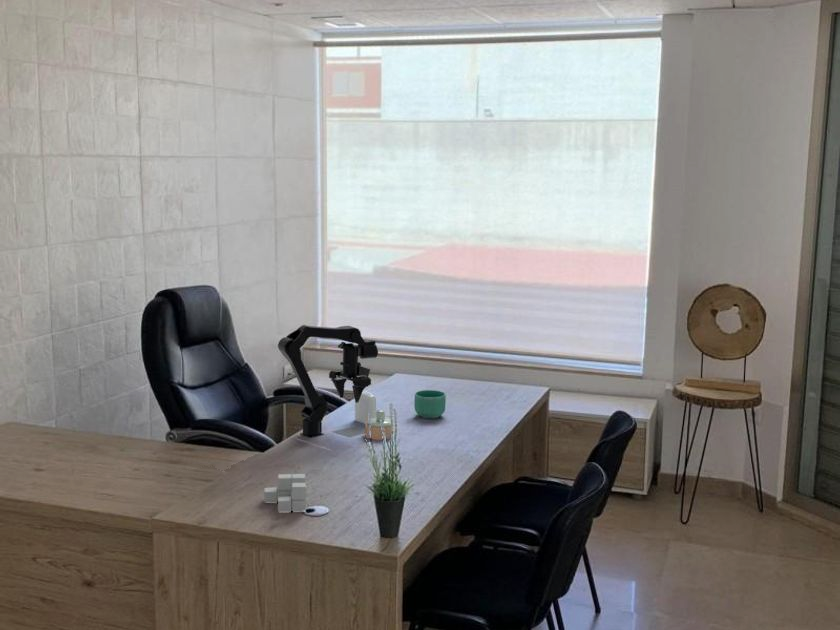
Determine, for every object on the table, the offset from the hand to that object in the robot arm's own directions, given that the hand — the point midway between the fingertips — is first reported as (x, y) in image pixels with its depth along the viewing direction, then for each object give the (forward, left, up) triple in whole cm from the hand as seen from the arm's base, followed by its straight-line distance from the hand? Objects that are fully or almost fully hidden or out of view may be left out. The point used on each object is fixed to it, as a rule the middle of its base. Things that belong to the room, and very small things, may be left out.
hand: (349, 400), depth 359 cm
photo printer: (+12, +4, -12) cm, 18 cm away
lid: (+3, -14, -7) cm, 16 cm away
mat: (-2, -3, -12) cm, 12 cm away
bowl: (+3, -14, -12) cm, 18 cm away
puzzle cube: (-68, -49, -12) cm, 85 cm away
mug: (+40, -5, -12) cm, 42 cm away
